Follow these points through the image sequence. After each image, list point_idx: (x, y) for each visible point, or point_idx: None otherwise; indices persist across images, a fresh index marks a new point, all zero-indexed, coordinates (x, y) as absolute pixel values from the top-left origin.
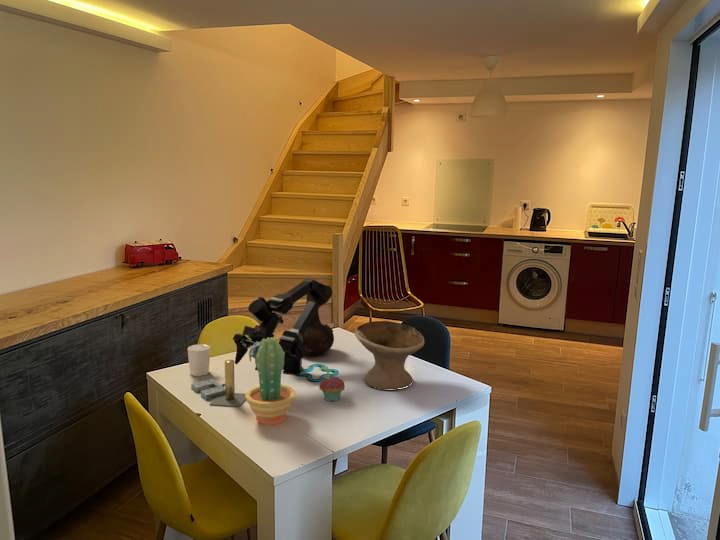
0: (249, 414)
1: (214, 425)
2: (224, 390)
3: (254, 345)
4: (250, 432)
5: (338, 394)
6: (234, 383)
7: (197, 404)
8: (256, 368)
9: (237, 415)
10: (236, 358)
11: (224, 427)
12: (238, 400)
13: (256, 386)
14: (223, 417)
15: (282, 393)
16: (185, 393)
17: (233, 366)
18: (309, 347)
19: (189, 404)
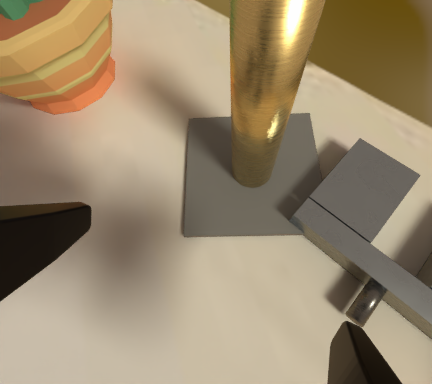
0: (141, 85)
1: (222, 18)
2: (304, 202)
3: None
4: (117, 10)
5: None
6: (232, 133)
7: (358, 114)
8: (70, 204)
9: (177, 73)
10: (377, 370)
11: (191, 15)
12: (210, 160)
13: (68, 23)
14: (216, 56)
15: None
16: None
17: (229, 3)
18: None
19: (388, 109)
